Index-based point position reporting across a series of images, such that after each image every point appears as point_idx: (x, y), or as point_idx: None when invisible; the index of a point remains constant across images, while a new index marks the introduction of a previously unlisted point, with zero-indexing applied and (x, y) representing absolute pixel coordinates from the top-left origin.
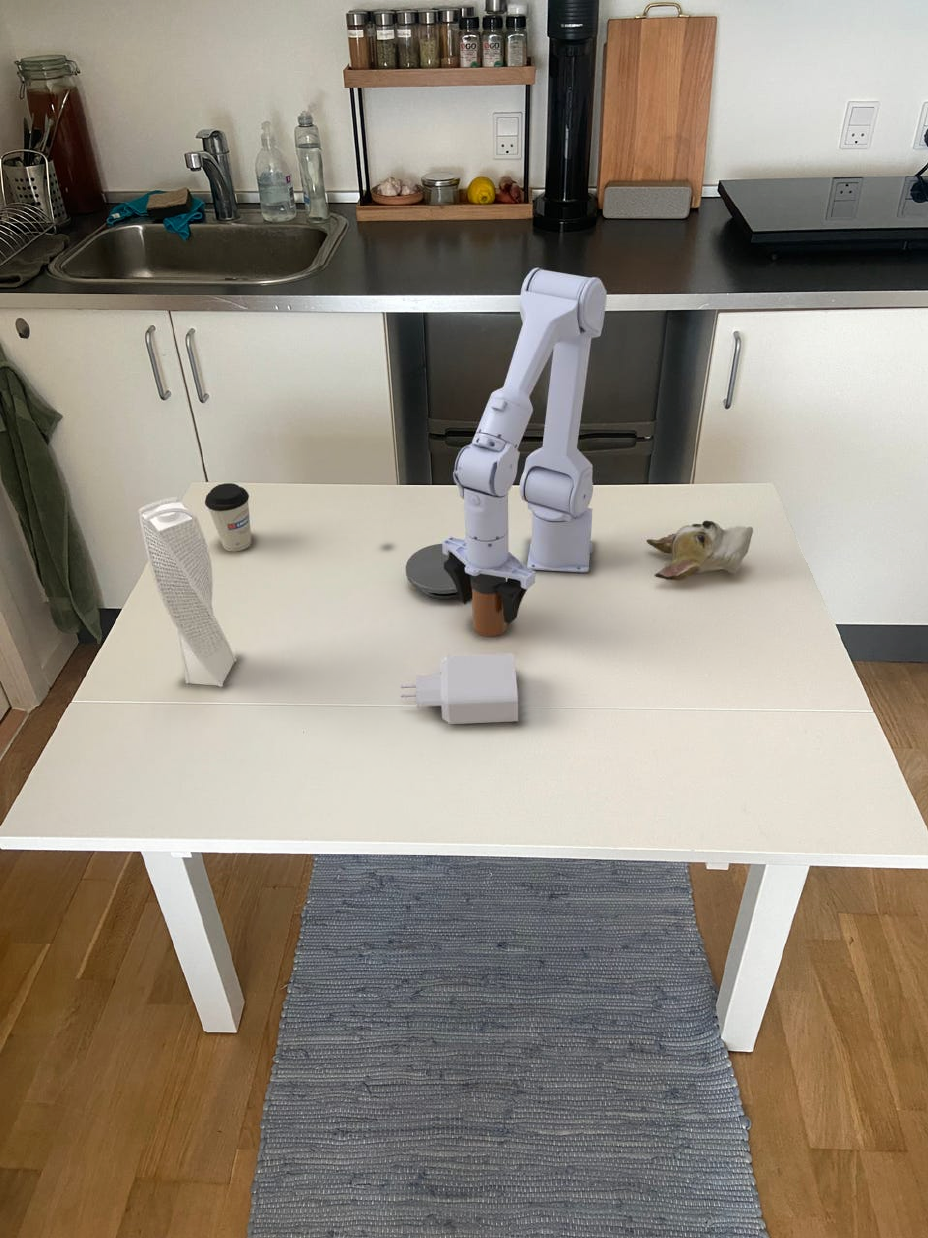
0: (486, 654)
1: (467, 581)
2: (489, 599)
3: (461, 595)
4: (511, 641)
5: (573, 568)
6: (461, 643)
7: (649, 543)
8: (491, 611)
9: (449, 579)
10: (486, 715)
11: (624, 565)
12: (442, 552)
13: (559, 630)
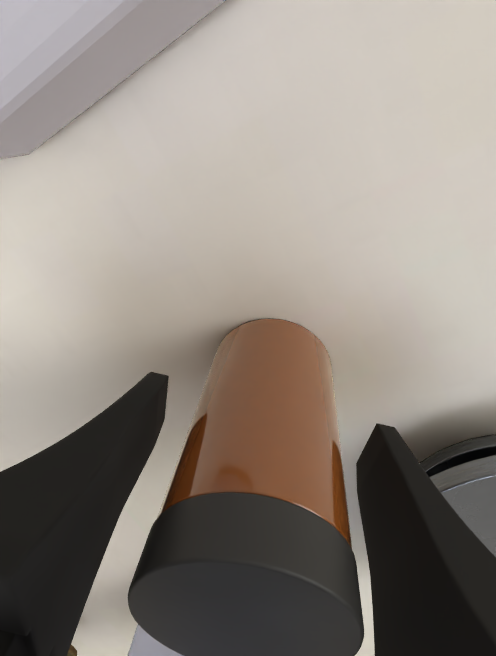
0: (20, 52)
1: (392, 543)
2: (204, 462)
3: (401, 458)
4: (167, 326)
5: None
6: (332, 251)
7: (69, 649)
8: (213, 404)
9: (492, 519)
10: None
11: (99, 595)
12: None
13: (76, 410)
